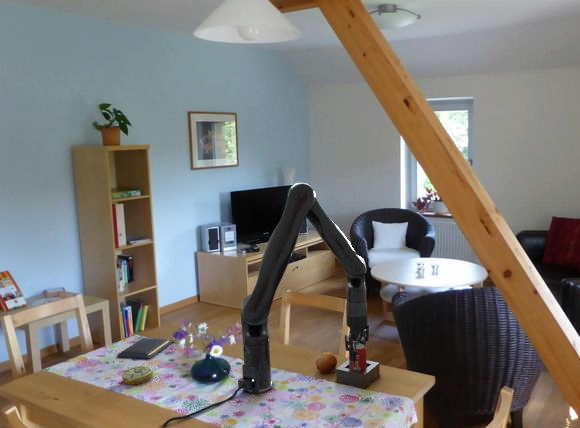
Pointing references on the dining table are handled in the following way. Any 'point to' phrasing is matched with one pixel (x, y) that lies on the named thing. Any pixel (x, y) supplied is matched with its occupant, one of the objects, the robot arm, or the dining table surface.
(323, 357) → the fruit
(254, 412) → the dining table surface
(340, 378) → the can holder
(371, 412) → the dining table surface
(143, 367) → the decorated donut
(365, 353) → the beverage can
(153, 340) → the dark grey book
